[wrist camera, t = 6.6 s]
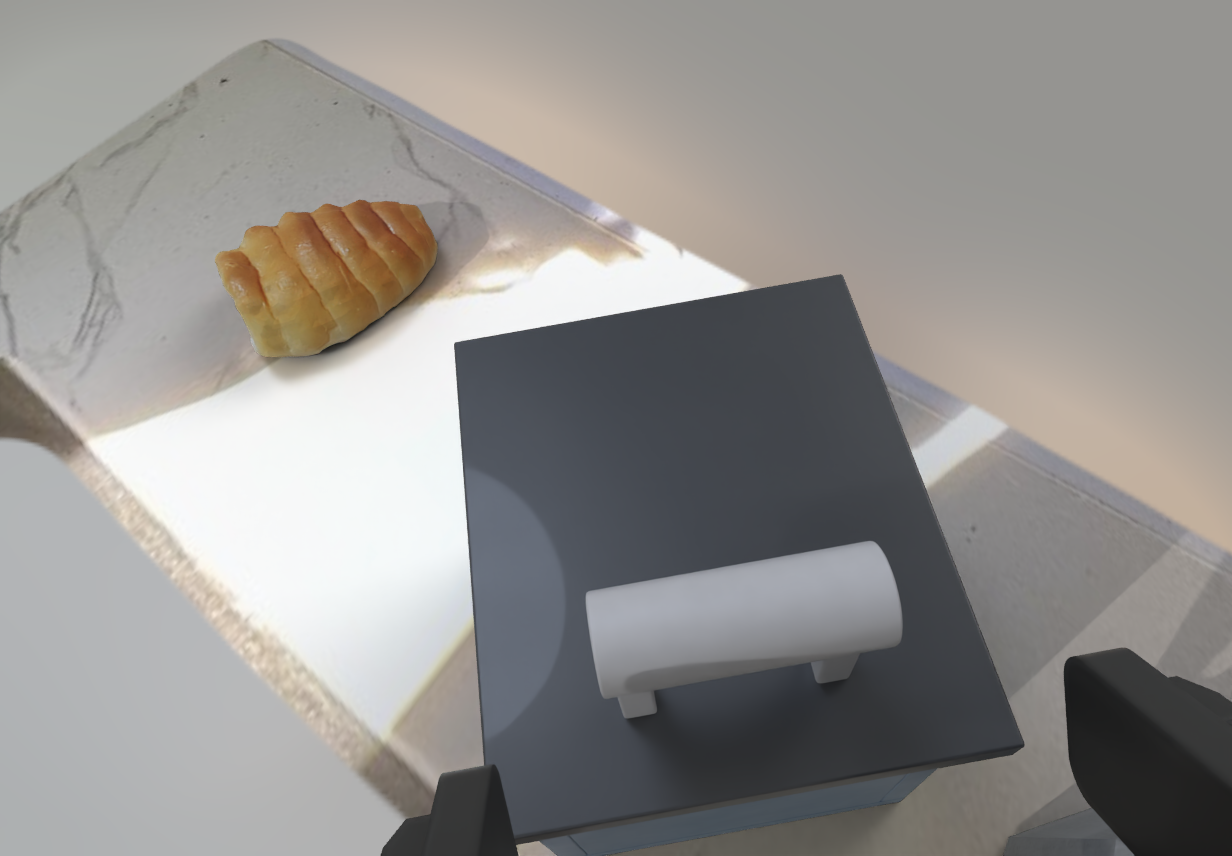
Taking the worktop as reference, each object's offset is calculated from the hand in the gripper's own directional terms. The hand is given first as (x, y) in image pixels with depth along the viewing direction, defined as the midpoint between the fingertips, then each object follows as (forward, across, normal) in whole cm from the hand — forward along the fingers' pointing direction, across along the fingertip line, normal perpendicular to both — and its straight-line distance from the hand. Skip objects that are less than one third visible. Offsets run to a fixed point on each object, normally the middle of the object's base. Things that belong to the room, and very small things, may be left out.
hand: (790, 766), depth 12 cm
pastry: (+31, -13, +6) cm, 34 cm away
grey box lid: (+9, 0, 0) cm, 9 cm away
